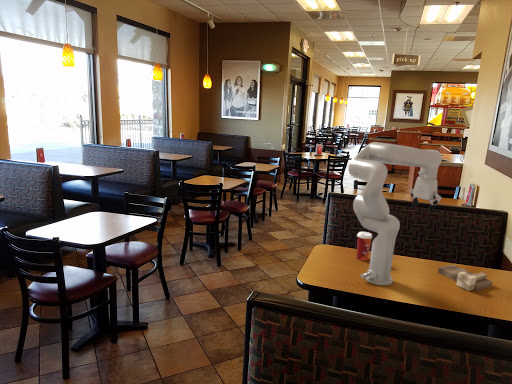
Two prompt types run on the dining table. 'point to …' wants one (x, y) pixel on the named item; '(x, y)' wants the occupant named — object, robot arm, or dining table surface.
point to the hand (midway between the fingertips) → (422, 209)
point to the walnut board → (453, 271)
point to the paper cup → (363, 245)
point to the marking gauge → (469, 280)
